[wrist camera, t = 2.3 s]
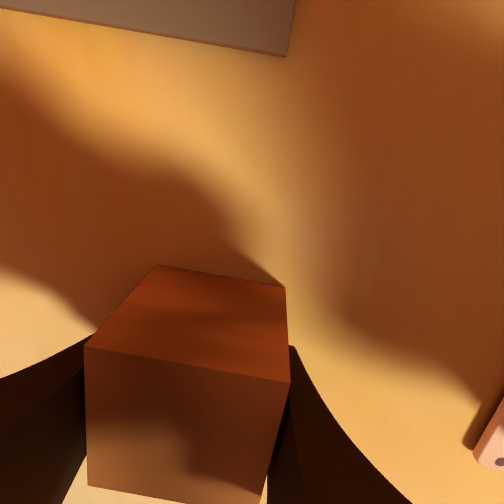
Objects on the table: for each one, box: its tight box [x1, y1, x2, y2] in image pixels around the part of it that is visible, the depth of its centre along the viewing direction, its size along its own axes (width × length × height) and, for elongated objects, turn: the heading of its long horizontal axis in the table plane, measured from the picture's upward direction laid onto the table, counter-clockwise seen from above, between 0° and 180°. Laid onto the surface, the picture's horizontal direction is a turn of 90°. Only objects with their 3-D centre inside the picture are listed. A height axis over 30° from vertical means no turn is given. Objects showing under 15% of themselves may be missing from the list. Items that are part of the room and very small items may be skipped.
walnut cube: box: [84, 265, 291, 504], centre depth 11 cm, size 5×5×5 cm
